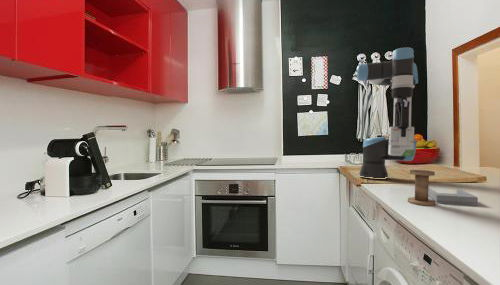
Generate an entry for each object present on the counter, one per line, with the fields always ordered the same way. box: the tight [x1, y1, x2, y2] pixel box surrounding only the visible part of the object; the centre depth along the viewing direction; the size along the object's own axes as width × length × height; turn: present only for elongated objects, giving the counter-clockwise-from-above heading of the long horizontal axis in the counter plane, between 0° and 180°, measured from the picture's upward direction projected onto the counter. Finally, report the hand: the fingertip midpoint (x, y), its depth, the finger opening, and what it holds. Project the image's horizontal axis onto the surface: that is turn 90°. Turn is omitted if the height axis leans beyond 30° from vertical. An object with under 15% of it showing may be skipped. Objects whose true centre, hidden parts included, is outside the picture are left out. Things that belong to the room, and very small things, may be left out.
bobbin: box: [407, 169, 437, 207], centre depth 106 cm, size 9×9×12 cm
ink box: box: [388, 126, 415, 157], centre depth 113 cm, size 9×5×12 cm, turn 72°
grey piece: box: [428, 187, 479, 206], centre depth 110 cm, size 14×13×3 cm
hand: (400, 144), depth 113 cm, fingers closed on ink box, 5 cm apart
